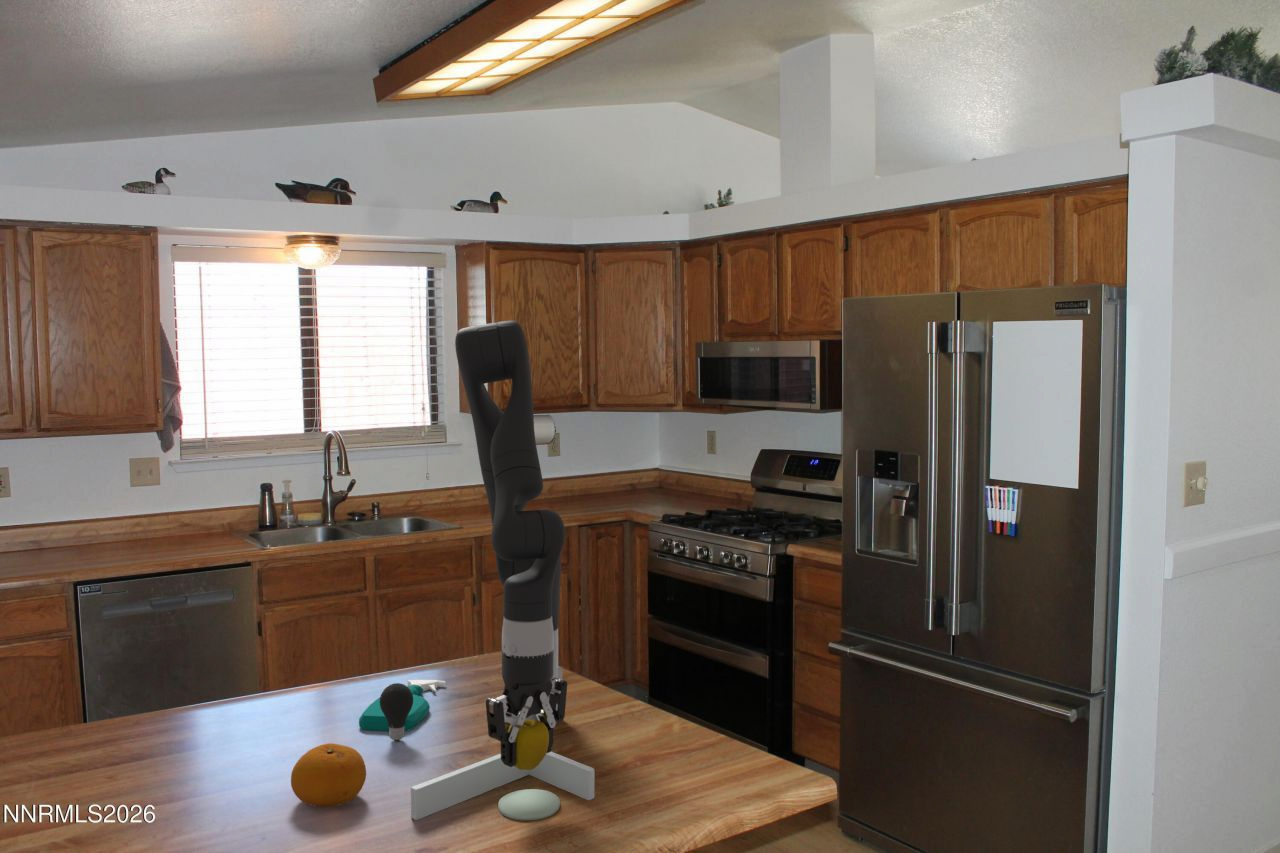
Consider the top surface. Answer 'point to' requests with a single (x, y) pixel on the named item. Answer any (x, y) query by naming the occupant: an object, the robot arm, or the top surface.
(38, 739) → the top surface
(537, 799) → the pad
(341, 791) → the fruit
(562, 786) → the grey corner wall
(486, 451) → the robot arm
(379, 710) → the spray bottle
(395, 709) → the light bulb
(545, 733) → the apple
